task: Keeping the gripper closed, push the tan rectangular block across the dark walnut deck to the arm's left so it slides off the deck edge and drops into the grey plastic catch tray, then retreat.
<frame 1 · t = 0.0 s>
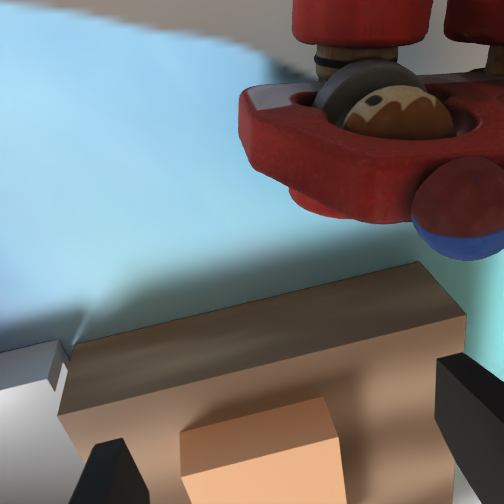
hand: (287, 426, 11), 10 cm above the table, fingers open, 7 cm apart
toy fire truck: (392, 87, 18), on the table
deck: (273, 406, 25), on the table
tan rectangular block: (268, 479, 22), point 4 cm above the table, touching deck
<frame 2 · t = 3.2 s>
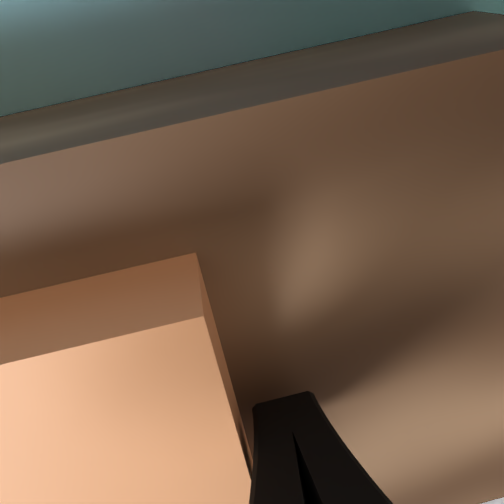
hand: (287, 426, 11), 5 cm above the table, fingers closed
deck: (215, 311, 15), on the table
tan rectangular block: (115, 440, 11), point 4 cm above the table, touching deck, gripper
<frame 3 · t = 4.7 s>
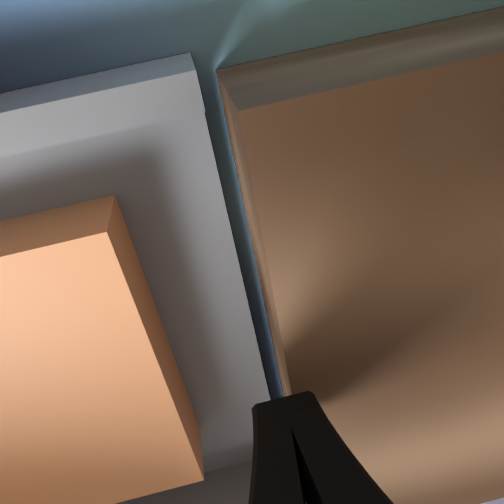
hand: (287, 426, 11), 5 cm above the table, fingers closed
catch tray: (42, 354, 15), on the table
tan rectangular block: (51, 407, 12), point 3 cm above the table, tilted 180°, touching catch tray
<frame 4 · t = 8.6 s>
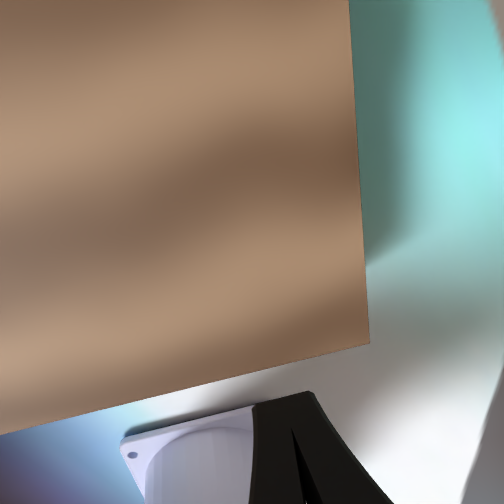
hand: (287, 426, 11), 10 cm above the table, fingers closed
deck: (111, 182, 18), on the table
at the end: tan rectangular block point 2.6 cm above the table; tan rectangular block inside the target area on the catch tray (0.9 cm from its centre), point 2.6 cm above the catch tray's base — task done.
